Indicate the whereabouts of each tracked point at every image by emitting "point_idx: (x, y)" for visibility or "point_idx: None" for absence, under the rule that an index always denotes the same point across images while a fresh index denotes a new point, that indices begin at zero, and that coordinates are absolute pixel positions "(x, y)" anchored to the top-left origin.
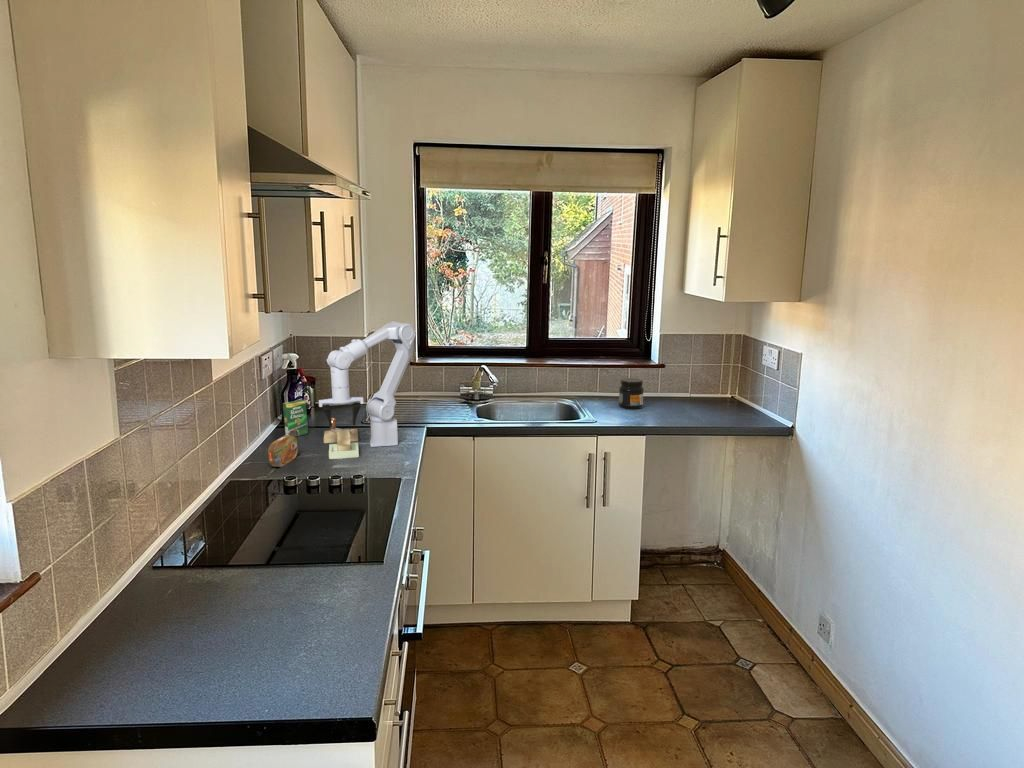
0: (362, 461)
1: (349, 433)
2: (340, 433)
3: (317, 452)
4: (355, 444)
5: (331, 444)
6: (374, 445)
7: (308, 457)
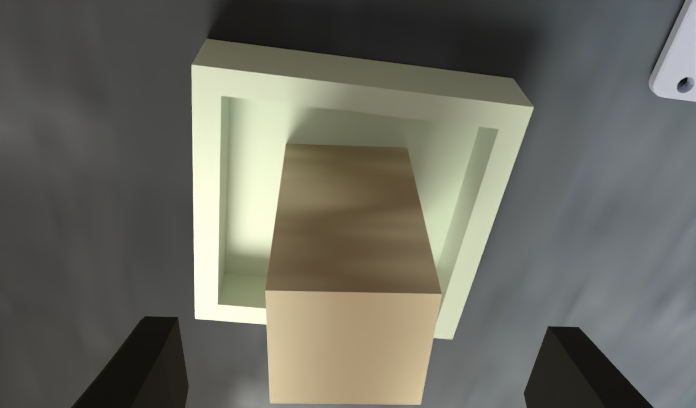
0: (440, 375)
1: (417, 404)
2: (311, 379)
3: (73, 58)
4: (492, 123)
5: (217, 77)
6: (692, 95)
7: (10, 184)
